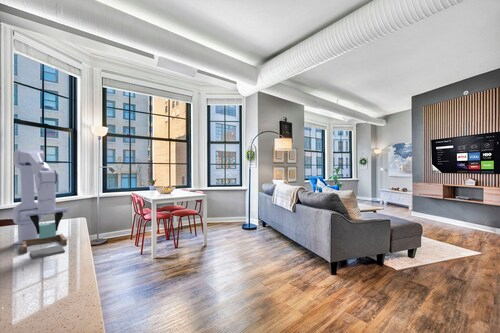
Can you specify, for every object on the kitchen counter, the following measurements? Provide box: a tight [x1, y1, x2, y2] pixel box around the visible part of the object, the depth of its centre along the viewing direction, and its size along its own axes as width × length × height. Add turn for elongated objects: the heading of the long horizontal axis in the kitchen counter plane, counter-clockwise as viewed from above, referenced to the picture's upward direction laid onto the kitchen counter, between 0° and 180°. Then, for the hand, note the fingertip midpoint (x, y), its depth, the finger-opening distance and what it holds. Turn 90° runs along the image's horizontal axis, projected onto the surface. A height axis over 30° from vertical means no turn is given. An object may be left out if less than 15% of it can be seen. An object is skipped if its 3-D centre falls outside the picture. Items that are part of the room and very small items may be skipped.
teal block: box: [39, 221, 57, 239], centre depth 99 cm, size 5×5×5 cm
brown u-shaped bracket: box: [21, 233, 68, 254], centre depth 108 cm, size 13×14×2 cm
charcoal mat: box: [30, 244, 66, 260], centre depth 99 cm, size 10×10×1 cm
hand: (47, 232), depth 99 cm, fingers closed on teal block, 5 cm apart
